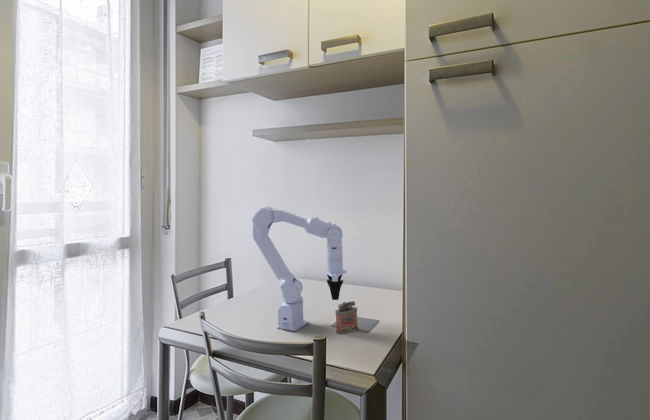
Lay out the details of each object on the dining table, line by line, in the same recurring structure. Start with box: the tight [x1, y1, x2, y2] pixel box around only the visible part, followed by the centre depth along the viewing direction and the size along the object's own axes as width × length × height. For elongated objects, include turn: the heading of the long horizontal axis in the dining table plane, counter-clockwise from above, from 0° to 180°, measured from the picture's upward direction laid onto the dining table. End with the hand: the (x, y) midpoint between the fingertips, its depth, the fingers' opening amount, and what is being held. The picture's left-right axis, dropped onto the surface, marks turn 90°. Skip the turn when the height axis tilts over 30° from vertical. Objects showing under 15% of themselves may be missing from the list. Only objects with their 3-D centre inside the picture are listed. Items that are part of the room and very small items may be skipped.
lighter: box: [334, 300, 358, 335], centre depth 126 cm, size 8×3×10 cm, turn 113°
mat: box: [330, 316, 380, 333], centre depth 134 cm, size 12×14×1 cm
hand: (335, 296), depth 132 cm, fingers open, 7 cm apart
